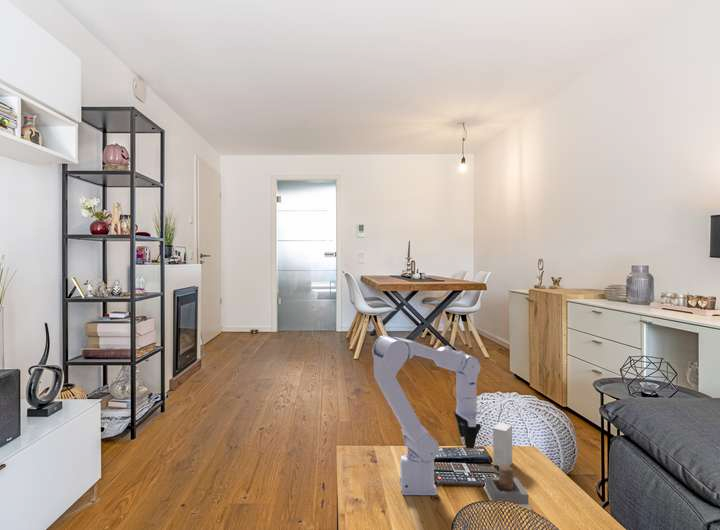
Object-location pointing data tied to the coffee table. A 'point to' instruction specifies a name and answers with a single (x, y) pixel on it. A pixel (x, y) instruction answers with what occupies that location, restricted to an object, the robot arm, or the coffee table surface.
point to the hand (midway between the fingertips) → (466, 442)
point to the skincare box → (502, 444)
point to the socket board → (507, 492)
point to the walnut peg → (505, 478)
